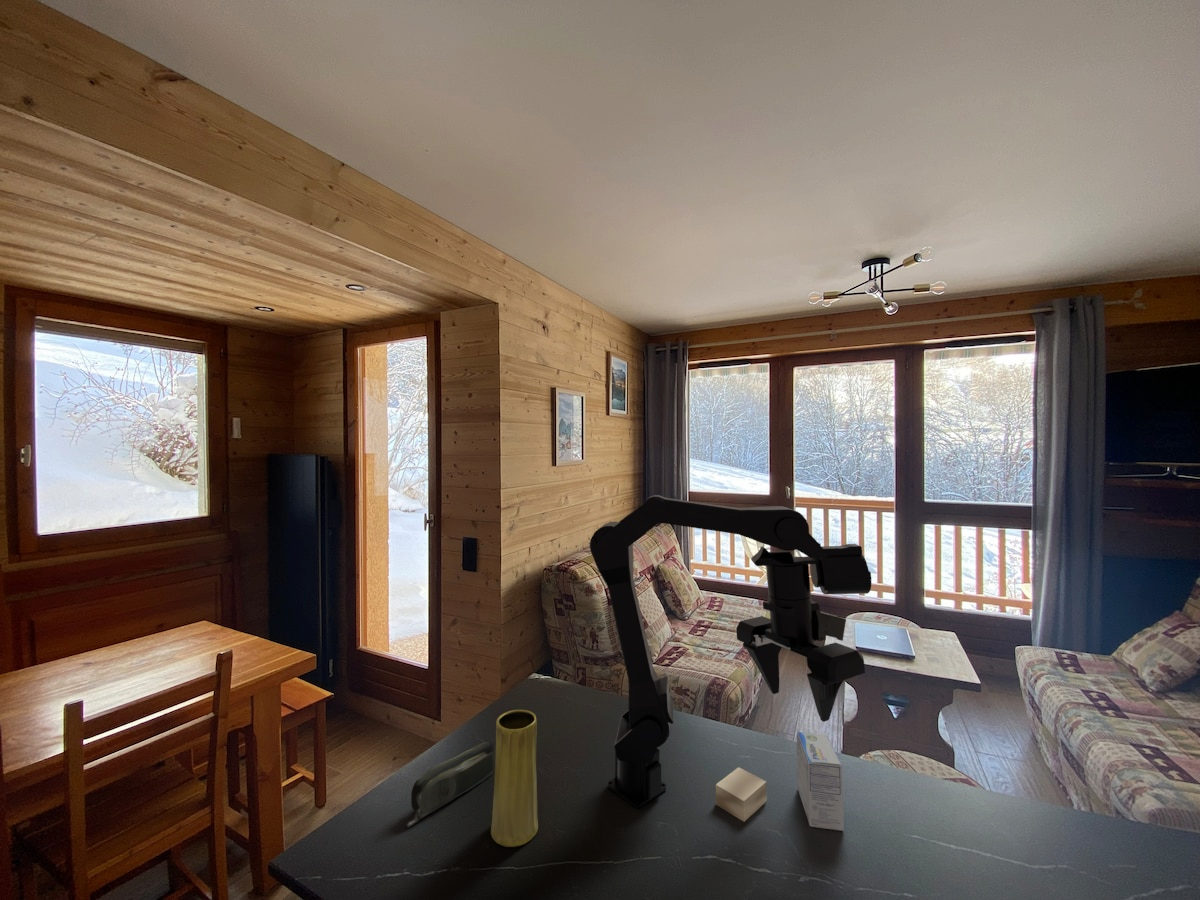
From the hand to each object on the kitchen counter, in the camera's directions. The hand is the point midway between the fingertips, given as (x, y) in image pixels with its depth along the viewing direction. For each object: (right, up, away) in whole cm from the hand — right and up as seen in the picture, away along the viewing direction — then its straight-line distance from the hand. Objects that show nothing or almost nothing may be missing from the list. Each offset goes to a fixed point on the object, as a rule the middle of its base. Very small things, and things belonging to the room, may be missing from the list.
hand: (798, 706), depth 68 cm
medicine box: (+2, -14, -1) cm, 15 cm away
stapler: (-50, -14, +1) cm, 52 cm away
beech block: (-8, -14, 0) cm, 16 cm away
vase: (-39, -14, -5) cm, 42 cm away
